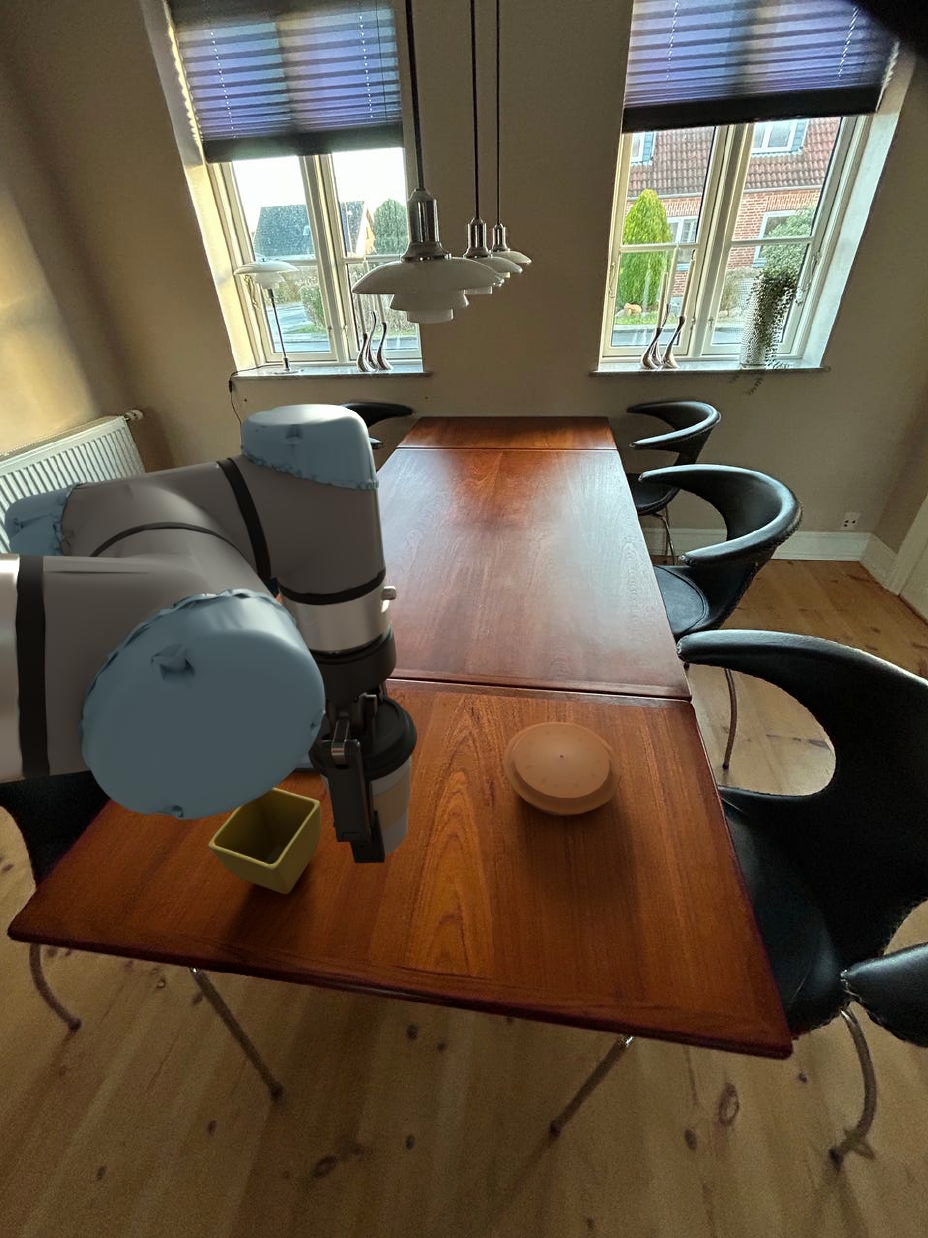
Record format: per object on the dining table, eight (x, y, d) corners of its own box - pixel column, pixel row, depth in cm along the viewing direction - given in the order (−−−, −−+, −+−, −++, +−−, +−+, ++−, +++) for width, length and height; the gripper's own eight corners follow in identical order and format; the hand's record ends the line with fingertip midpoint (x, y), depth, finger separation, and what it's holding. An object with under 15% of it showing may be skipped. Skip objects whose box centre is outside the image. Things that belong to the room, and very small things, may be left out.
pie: (479, 787, 72) (478, 762, 69) (544, 723, 82) (545, 699, 79) (577, 855, 63) (581, 830, 61) (637, 775, 73) (643, 750, 70)
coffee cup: (313, 858, 51) (280, 750, 43) (359, 783, 59) (339, 679, 50) (402, 888, 49) (386, 779, 40) (439, 805, 56) (431, 698, 48)
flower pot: (275, 827, 68) (257, 781, 63) (334, 847, 65) (321, 800, 60) (228, 891, 61) (205, 845, 56) (293, 916, 59) (274, 870, 54)
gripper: (373, 728, 31) (405, 927, 43) (404, 561, 48) (421, 737, 61) (244, 730, 31) (314, 928, 43) (322, 563, 48) (356, 738, 61)
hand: (376, 817), depth 52 cm, fingers closed on coffee cup, 8 cm apart
